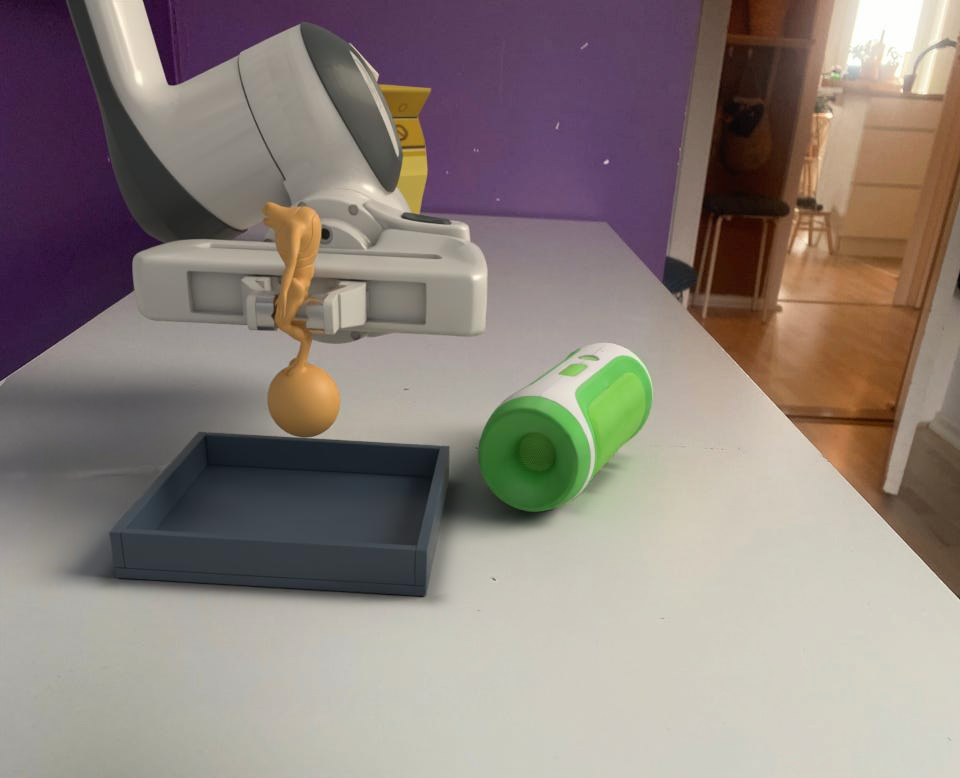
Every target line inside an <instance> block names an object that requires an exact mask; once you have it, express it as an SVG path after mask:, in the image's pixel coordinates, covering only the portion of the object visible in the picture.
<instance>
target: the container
mask: <svg viewBox="0 0 960 778" xmlns="http://www.w3.org/2000/svg"><path fill="white" fill-rule="evenodd" d="M348 44H350V45H351V46H352V47H353V48H354V49H355V50H356V51H357V52H358V53H359V55H360V56H361V57H362V59H363V60H364V61H365V63H366V64H367V66H368V67H369V69H370V70H371V72H372V74H373V75H374V77H375V79H376V81H377V82H378V80H379V77H380V74H379V73H378V71H377V70H376V69H375V68H374V67H373V66H372V65H371V64H370V63H369V62H368V61H367V59H365V57H364V56H363V55H362V54H361V53H360V52H359V51H358V49H356V48H355V46H353V44H352V43H351V42H349V43H348ZM378 85H379V87H380V89H381V91H382V93H383V95H384V97H385V100H386V102H387V104H388V107H389V109H390V112H391V114H392V117H393V120H394V123H395V126H396V129H397V132H398V135H399V139H400V143H401V147H402V152H403V161H402V167H401V173H400V177H399V180H398V183H397V186H396V187H397V188H398V189H399V191H400V192H401V193H402V195H403V197H404V198H405V200H406V202H407V204H408V206H409V208H410V210H411V213H415V214H420V215H421V207H422V201H423V196H424V192H425V188H426V185H427V184H426V183H427V179H428V158H427V156H428V155H427V146H426V139H425V136H424V131H423V129H422V125H421V122H420V118H419V115H420V113H421V111H422V110H423V107H424V105H425V104H426V101H427V99H428V97H429V96H430V94H431V92H432V87H419V86H409V85H408V86H407V85H394V84H382V83H381V84H379V83H378Z"/></svg>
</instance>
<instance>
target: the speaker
mask: <svg viewBox="0 0 960 778" xmlns="http://www.w3.org/2000/svg"><path fill="white" fill-rule="evenodd" d="M653 400H654V385H653V380H652V376H651V373H650V371H649V368H648V367H647V365H646V364H645V362H644V361H643V360H642V359H641V357H640V356H639V355H637V354H636V353H635V352H633V351H632V350H631V349H628V348H627V347H624V346H622V345H619V344H616V343H612V342H595V343H591V344H587V345H584V346H581V347H579V348H577V349H575V350H574V351H572V352H571V353H569V354H568V355H567V356H566V357H565V359H563V360H562V361H560V362H559V363H558V364H556V365H555V366H554V367H552V368H551V369H549V370H548V371H547V372H545V373H543V374H542V375H541V376H539V377H537V379H535V380H534V381H532V382H531V383H529V384H528V385H526V386H524V387H523V388H522V387H521V389H519V390H517V391H515V392H514V393H512V394H511V395H509V396H507V397H506V398H505V399H504V400H503V401H502V402H500V404H499V405H497V407H496V408H495V409H494V411H493V412H492V413H491V415H490V416H489V417H488V419H487V421H486V423H485V425H484V427H483V430H482V432H481V436H480V438H479V443H478V446H477V447H478V448H477V458H478V459H477V460H478V465H479V470H480V472H481V475H482V478H483V480H484V481H485V483H486V485H487V487H488V488H489V489H490V491H491V492H492V493H493V494H494V495H495V496H496V497H497V498H498V499H499V500H501V502H503V503H504V504H506V505H508V506H510V507H512V508H514V509H517V510H520V511H524V512H535V513H536V512H537V513H538V512H544V511H549V510H553V509H556V508H559V507H562V506H564V505H566V504H568V503H570V502H572V501H574V500H576V499H577V498H578V497H580V496H581V495H582V494H583V493H584V492H585V490H586V489H587V488H588V486H589V485H590V484H591V481H592V479H593V478H594V477H595V476H596V475H597V474H598V473H599V472H600V471H601V470H602V468H604V466H605V465H606V464H607V463H608V462H609V461H610V460H611V459H612V458H613V457H614V456H615V454H616V453H618V451H619V450H620V449H621V448H622V447H623V446H624V445H625V444H627V443H628V442H629V441H631V440H632V439H633V438H634V437H635V436H637V435H638V433H640V431H641V430H642V429H643V427H644V426H645V424H646V422H647V420H648V418H649V416H650V413H651V411H652V406H653V402H654V401H653Z"/></svg>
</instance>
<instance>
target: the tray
mask: <svg viewBox="0 0 960 778" xmlns="http://www.w3.org/2000/svg"><path fill="white" fill-rule="evenodd" d="M450 449H451V446H450V445H435V444H419V443H418V444H417V443H416V444H415V443H401V442H399V443H398V442H382V441H380V442H379V441H368V440H367V441H366V440H365V441H364V440H347V439H330V438H315V437H297V436H277V435H261V434H260V435H259V434H245V433H244V434H241V433H225V432H206V431H198V432H197V433H196V435H194V437H192V439H191V440H190V441H189V442H188V443H187V444H186V445H185V447H183V448H182V450H181V451H180V452H179V454H177V456H176V457H175V458H174V459H173V460H172V461H171V462H170V463H169V464H168V466H166V468H165V469H164V470H163V471H162V473H160V475H158V477H157V478H156V479H155V480H154V481H153V483H151V485H149V487H148V488H147V489H146V490H145V491H144V492H143V493H142V495H141V496H140V497H139V498H138V499H137V500H136V502H134V503H133V505H132V506H131V507H130V509H128V510H127V511H126V513H125V514H124V515H123V516H122V517H121V518H120V519H119V520H118V522H117V523H116V524H115V525H114V526H113V527H112V528H111V529H110V530H109V532H108V534H109V541H110V549H111V554H112V561H113V567H114V568H113V569H114V577H115V579H116V578H117V579H130V580H131V579H133V580H151V581H167V582H182V583H183V582H184V583H198V584H214V585H215V584H216V585H218V584H219V585H231V586H232V585H233V586H234V585H235V586H251V587H267V588H282V589H283V588H284V589H285V588H286V589H299V590H314V591H332V592H350V593H368V594H383V595H399V596H401V595H402V596H416V597H426V596H427V594H428V589H429V584H430V580H431V579H430V578H431V574H432V569H433V563H434V558H435V554H436V549H437V543H438V540H439V539H438V538H439V534H440V529H441V523H442V519H443V513H444V510H445V509H444V508H445V504H446V503H445V502H446V498H447V493H448V488H449V480H450V477H449V476H450V454H451V453H450Z"/></svg>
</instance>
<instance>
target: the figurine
mask: <svg viewBox="0 0 960 778" xmlns="http://www.w3.org/2000/svg"><path fill="white" fill-rule="evenodd" d="M262 213H263V214H264V215H265V216H268V219H267V218H263V220H262V221H263V222H262V223H263V225H265V226H266V227H267V228H269V229H270V228H272V229H273V230H274V231H275V244H276V248H277V251H278V253H279V255H280V257H281V259H282V260H283V262H284V264H285V267H286V268H285V271H284V273H283V277H282V281H281V289H280V295H279V297H278V298H277V300H276V302H275V306H276V305H277V309H276V314H275V317H274V320H275V323H276V325H277V326H278V330H280V331H281V332H283V333H285V334H286V335H288V336H289V337H290V338H292V339H293V340H295V341H298V342H299V343H300V345H299V350H298V353H297V354H296V357H294V358H292V359H291V360H290V361H289V363H288V366H286V367H284V368H282V369H281V370H280V371H279V372H277V374H276V375H275V376H274V377H273V378H272V380H271V382H270V383H269V386H268V389H267V394H266V395H267V396H266V402H267V409H268V412H269V414H270V416H271V418H272V420H273V421H274V423H275V424H276V425H277V426H278V427H279V428H280V430H282V431H284V432H285V433H286V434H289V435H291V436H292V437H297V438H314V437H316V436H319V435H321V434H323V433H325V432H326V431H328V430H329V429H330V428H331V427H332V426H333V425H334V424H335V422H336V420H337V418H338V415H339V413H340V409H341V395H340V391H339V388H338V386H337V383H336V381H335V380H334V379H333V378H332V376H331V375H330V373H328V372H327V371H326V370H324V369H322V367H319V366H317V365H315V364H311V363H309V362H308V358H309V353H310V350H311V346H312V342H313V340H312V335H311V333H307V331H306V322H305V321H303V320H296V319H295V315H296V314H297V312H298V311H299V309H300V307H301V305H302V304H303V302H304V301H305V300H306V298H307V294H308V289H309V286H310V281H311V279H312V278H313V276H314V264H313V263H314V262H315V259H316V257H317V253H318V249H319V244H320V239H321V222H320V218H319V216H318V214H317V213H316V212H315V211H314V210H313V209H311V208H309V207H305V206H303V207H290V208H287V207H282V206H279V205H277V204H275V203H272V202H267V203H266V204H265V205H264V207H263V209H262ZM277 303H278V304H277Z"/></svg>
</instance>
